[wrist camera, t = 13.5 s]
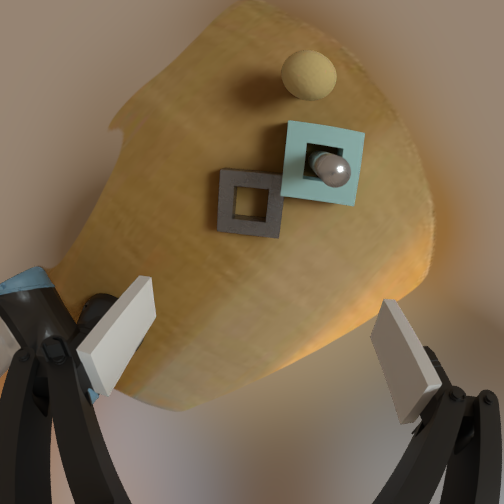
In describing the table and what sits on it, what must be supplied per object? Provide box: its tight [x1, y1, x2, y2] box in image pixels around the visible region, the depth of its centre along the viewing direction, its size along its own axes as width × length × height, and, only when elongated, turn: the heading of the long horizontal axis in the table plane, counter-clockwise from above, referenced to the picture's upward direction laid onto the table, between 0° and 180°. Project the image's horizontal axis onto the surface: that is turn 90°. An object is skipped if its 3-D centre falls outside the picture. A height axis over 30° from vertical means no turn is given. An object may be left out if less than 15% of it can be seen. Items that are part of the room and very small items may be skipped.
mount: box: [217, 168, 284, 238], centre depth 39 cm, size 9×9×2 cm
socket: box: [280, 120, 365, 206], centre depth 35 cm, size 10×10×4 cm
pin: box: [308, 150, 351, 188], centre depth 31 cm, size 3×3×13 cm
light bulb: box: [281, 50, 337, 101], centre depth 28 cm, size 6×6×10 cm
